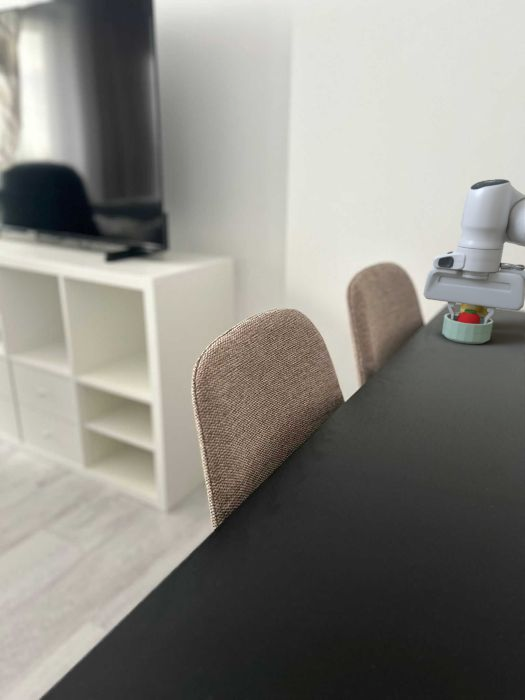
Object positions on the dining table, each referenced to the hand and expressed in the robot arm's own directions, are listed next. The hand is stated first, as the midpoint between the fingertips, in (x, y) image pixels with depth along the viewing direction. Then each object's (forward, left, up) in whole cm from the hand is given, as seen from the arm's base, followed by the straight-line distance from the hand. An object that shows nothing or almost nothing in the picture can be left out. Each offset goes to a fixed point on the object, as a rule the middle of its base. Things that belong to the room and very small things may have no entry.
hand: (468, 324), depth 112 cm
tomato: (0, 0, -2) cm, 2 cm away
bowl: (0, 0, -3) cm, 3 cm away
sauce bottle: (-6, -10, -3) cm, 12 cm away
